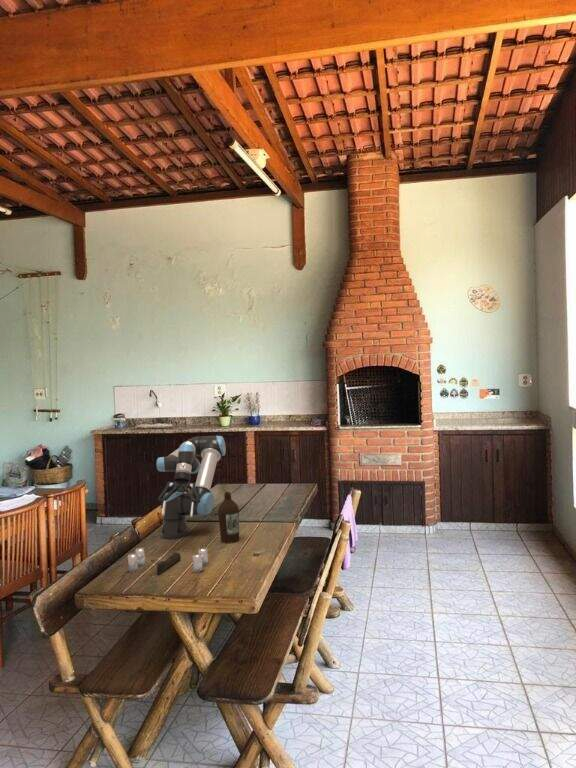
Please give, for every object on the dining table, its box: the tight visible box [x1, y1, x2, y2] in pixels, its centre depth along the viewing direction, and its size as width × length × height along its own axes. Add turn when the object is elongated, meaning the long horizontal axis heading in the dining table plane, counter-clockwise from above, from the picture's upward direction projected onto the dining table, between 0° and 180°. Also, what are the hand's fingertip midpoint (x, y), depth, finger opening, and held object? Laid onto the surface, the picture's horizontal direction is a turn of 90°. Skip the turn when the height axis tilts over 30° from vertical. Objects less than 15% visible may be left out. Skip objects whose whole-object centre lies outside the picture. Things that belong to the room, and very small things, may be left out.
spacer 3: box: [192, 553, 203, 573], centre depth 250 cm, size 4×4×7 cm
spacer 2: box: [134, 547, 146, 567], centre depth 263 cm, size 4×4×7 cm
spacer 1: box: [127, 553, 139, 573], centre depth 255 cm, size 4×4×7 cm
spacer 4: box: [197, 547, 209, 566], centre depth 258 cm, size 4×4×7 cm
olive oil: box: [217, 490, 240, 544], centre depth 292 cm, size 11×11×25 cm
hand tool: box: [156, 552, 182, 575], centre depth 257 cm, size 19×4×5 cm, turn 162°
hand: (177, 515), depth 274 cm, fingers open, 13 cm apart
